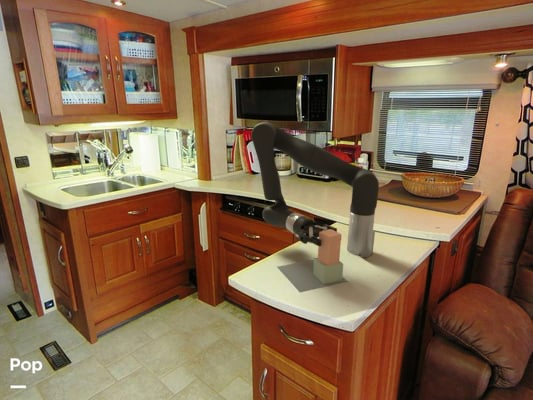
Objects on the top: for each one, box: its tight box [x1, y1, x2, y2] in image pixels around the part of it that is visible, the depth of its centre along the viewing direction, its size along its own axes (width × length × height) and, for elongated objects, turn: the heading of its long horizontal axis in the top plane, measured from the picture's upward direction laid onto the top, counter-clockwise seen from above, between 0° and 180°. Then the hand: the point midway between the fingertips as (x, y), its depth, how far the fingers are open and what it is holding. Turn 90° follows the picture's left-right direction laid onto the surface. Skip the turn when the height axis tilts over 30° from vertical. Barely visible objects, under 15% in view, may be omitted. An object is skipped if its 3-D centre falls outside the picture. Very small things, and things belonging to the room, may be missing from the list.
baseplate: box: [276, 259, 349, 293], centre depth 118 cm, size 18×18×1 cm
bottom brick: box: [313, 257, 344, 284], centre depth 115 cm, size 7×7×6 cm
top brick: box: [317, 229, 342, 266], centre depth 113 cm, size 5×5×10 cm
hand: (330, 240), depth 111 cm, fingers open, 8 cm apart
